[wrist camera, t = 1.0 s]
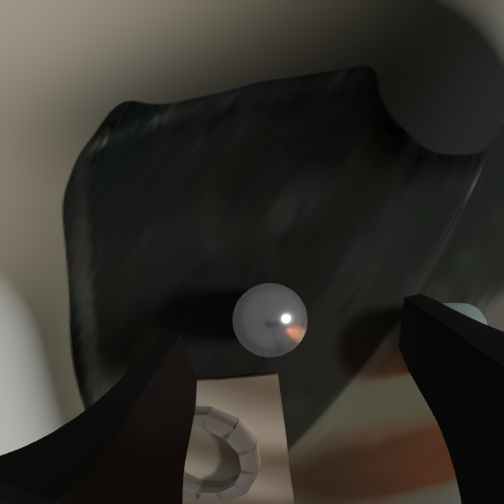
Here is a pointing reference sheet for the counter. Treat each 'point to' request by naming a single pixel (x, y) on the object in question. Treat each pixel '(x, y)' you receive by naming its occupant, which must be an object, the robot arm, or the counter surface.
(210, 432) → the board
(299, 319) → the steel pin
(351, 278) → the counter surface
